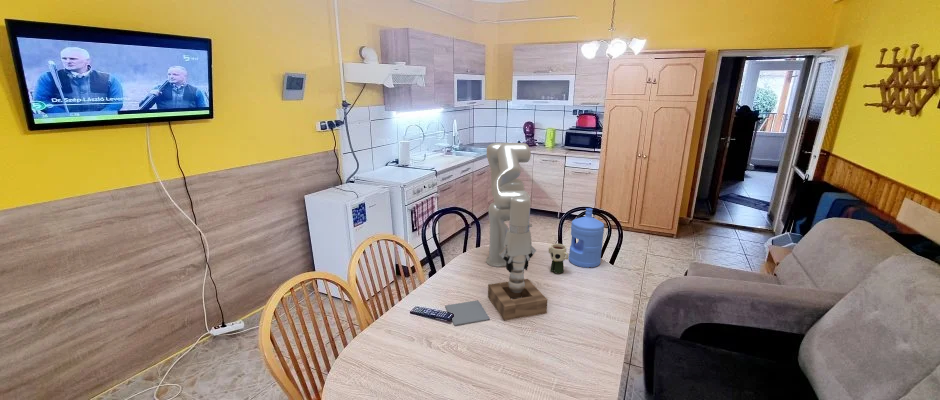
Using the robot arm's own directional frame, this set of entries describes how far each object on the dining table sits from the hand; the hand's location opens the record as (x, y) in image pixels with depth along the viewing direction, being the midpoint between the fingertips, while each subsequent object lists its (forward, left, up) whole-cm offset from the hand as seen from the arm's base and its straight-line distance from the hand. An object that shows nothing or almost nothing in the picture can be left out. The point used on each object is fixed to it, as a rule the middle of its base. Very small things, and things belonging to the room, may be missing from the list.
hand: (517, 269), depth 159 cm
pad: (+1, -21, -15) cm, 26 cm away
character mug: (-21, +31, -16) cm, 41 cm away
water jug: (-27, +50, -16) cm, 59 cm away
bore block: (+1, 0, -15) cm, 15 cm away
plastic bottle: (0, 0, -10) cm, 10 cm away
